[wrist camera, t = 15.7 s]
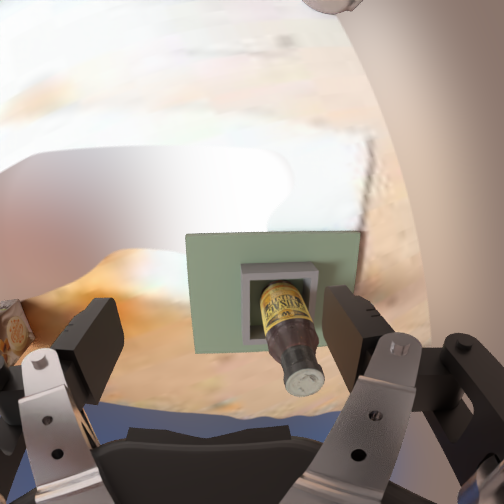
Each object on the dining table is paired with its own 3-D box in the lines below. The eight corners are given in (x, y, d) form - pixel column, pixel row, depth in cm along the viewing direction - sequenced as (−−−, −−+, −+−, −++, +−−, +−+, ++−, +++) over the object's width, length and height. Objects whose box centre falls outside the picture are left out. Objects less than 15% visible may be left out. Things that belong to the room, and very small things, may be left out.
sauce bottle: (294, 273, 46) (340, 349, 27) (301, 308, 47) (343, 393, 29) (252, 284, 45) (272, 368, 26) (261, 319, 47) (283, 410, 28)
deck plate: (356, 231, 46) (371, 240, 41) (342, 339, 52) (353, 356, 47) (186, 233, 44) (181, 244, 39) (196, 348, 50) (193, 368, 45)
